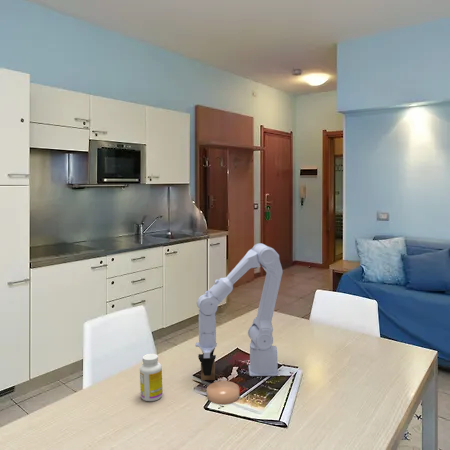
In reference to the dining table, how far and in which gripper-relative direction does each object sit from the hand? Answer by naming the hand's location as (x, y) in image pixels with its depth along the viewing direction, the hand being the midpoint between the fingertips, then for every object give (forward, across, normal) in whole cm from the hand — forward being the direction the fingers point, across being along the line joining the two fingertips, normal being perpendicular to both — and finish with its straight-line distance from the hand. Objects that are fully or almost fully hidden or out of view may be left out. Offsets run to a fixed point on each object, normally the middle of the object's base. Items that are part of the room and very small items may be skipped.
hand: (207, 369), depth 141 cm
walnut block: (+3, 0, 0) cm, 3 cm away
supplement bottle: (+3, +12, -17) cm, 21 cm away
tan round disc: (+3, +12, +5) cm, 13 cm away
